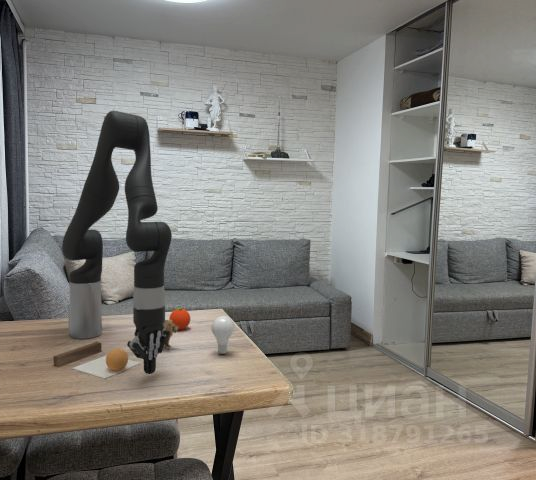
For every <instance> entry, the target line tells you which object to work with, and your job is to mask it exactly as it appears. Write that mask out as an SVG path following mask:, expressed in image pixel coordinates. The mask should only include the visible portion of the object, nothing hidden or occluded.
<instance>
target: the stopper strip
mask: <svg viewBox="0 0 536 480" xmlns="http://www.w3.org/2000/svg"><path fill="white" fill-rule="evenodd" d="M101 352H102V342H98V341H95V342H91V343H89V344H86V345H83V346H80V347H76V348H74V349H70V350H68V351H64V352H62V353H58V354H56V355H53V366H54V367H56V368H57V367H58V368H59V367H63V366H66V365H68V364H70V363H73V362H76V361H79V360H81V359H85V358H87V357H90V356H93V355H96V354H98V353H101Z"/></svg>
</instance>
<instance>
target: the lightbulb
mask: <svg viewBox="0 0 536 480" xmlns="http://www.w3.org/2000/svg"><path fill="white" fill-rule="evenodd" d="M234 330H235V325H234V321H233V320H232V319H231V318H230V317H229V316H225V315H221V316H218V317H215V319H213V321H212V323H211V332H212V334H213V335H214V337H215V339H216V343H217V353H218V354H219V355H225V354H226V353H228V344H229V340H230V338H231V336H232V335H233V333H234Z"/></svg>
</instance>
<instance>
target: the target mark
mask: <svg viewBox="0 0 536 480" xmlns="http://www.w3.org/2000/svg"><path fill="white" fill-rule="evenodd" d="M106 356H107V354H106V355H103V356H101V357H99V358H96V359H92V360H91V361H87V362H85V363H83V364H80V365H77V366H74V367H72V368H71V369H72V370H75V371H78V372H81V373H84V374H88V375H90V376H94V377H97V378H99V379H104V380H106V379H108V378H111V377H113V376H116V375H118V374H121V373H122V372H124V371H127V370H129V369H132V368H134V367H136V366H139V365H141V362H138V361H135V360H131V359H130V360H129V359H128V363H127V365H126V366H125V367H124V368H123V369H121V370H118V371H114V370H111V369H110V368H108V366H107V364H106ZM138 364H139V365H138Z"/></svg>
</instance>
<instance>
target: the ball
mask: <svg viewBox="0 0 536 480" xmlns="http://www.w3.org/2000/svg"><path fill="white" fill-rule="evenodd" d="M106 355H107V356H106ZM106 355H105V356H106V364H107V366H108V368H110V369H111V370H114V371H118V370H121V369H123V368H124V367H125V366H126V365H127V363H128V360H129V356H128V353H127V352H126V351H125V350H123V349H121V348H114V349H112V350H110V351H108V353H107V354H106Z"/></svg>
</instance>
